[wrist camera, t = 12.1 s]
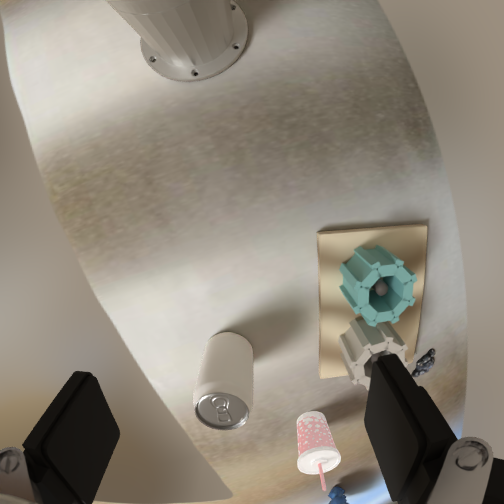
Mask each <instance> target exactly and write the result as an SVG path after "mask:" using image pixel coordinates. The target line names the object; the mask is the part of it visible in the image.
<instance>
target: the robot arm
mask: <svg viewBox="0 0 504 504" xmlns="http://www.w3.org/2000/svg"><path fill="white" fill-rule="evenodd" d="M106 1H107V2H108V3H109V4H110V5H111V6H112V8H113V9H114V10H115V11H116V12H117V13H118V14H119V15H120V16H121V17H122V18H123V19H124V20H125V21H126V22H127V23H128V24H129V25H130V26H131V27H132V28H133V29H134V30H135V31H136V32H137V33H138V34H139V35H140V36H141V40H140V44H141V51H142V54H143V57H144V59H145V60H146V62H147V63H148V65H149V66H150V67H151V68H152V69H153V70H154V71H156V72H157V73H159V74H160V75H161V76H164V77H166V78H168V79H171V80H175V81H182V82H192V81H200V80H204V79H208V78H211V77H213V76H215V75H217V74H220V73H221V72H223V71H224V70H226V69H227V68H229V67H230V66H231V65H232V64H233V63H234V62H235V61H236V60H237V59H238V57H239V56H240V55H241V53H242V51H243V49H244V47H245V45H246V42H247V37H248V25H247V20H246V17H245V14H244V12H243V11H242V9H241V8H240V6H239V5H238V4H237V3H236V2H234V1H233V0H106ZM232 9H234V10H232ZM235 47H238V49H234V48H235ZM154 60H156V61H155V62H153V61H154ZM195 73H198V75H197V76H194V74H195ZM364 423H365V428H366V431H367V433H368V436H369V439H370V441H371V444H372V447H373V449H374V452H375V455H376V458H377V460H378V463H379V466H380V469H381V471H382V474H383V477H384V480H385V483H386V485H387V488H388V491H389V494H390V497H391V499H392V501H393V502H395V501H397V502H398V504H504V460H502V459H498V458H493V451H492V448H491V447H490V445H489V444H488V443H487V442H485V441H484V440H482V439H480V438H476V437H465V438H461V439H459V440H458V439H457V438H456V436H455V434H454V433H453V431H452V430H451V428H450V426H449V425H448V423H447V422H446V420H445V419H444V417H443V416H442V414H441V412H440V411H439V409H438V408H437V406H436V405H435V403H434V402H433V400H432V399H431V397H430V396H429V394H428V393H427V391H426V390H425V389H424V388H423V387H422V386H418V385H417V384H416V382H415V381H414V379H413V378H412V376H411V375H410V373H409V372H408V370H407V369H406V367H405V366H404V364H403V363H402V361H401V360H400V358H399V357H398V355H397V354H395V353H394V354H388V355H383V356H379V357H378V359H377V361H374V362H373V364H372V371H371V379H370V386H369V393H368V399H367V406H366V412H365V418H364ZM119 437H120V430H119V428H118V425H117V423H116V421H115V419H114V417H113V415H112V413H111V410H110V408H109V406H108V404H107V402H106V399H105V397H104V395H103V392H102V390H101V388H100V385H99V383H98V380H97V378H96V377H94V376H93V375H92V374H91V373H90V372H82V371H75V372H74V373H73V374H72V376H71V377H70V378H69V380H68V381H67V382H66V384H65V385H64V386H63V388H62V389H61V390H60V392H59V393H58V394H57V396H56V397H55V399H54V400H53V402H52V403H51V404H50V406H49V407H48V408H47V410H46V411H45V413H44V414H43V415H42V417H41V418H40V420H39V421H38V423H37V424H36V425H35V427H34V428H33V430H32V431H31V433H30V434H29V435H28V437H27V439H26V440H25V441H24V443H23V444H22V446H23V447H24V448H25V450H24V452H22V451H21V450H20V449H18V448H16V447H7V448H4V449H2V450H0V504H92V503H93V500H94V498H95V495H96V492H97V490H98V488H99V485H100V483H101V480H102V478H103V475H104V473H105V471H106V468H107V466H108V463H109V461H110V459H111V456H112V454H113V451H114V449H115V447H116V444H117V442H118V440H119Z"/></svg>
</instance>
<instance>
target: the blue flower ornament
mask: <svg viewBox="0 0 504 504" xmlns="http://www.w3.org/2000/svg"><path fill="white" fill-rule="evenodd" d="M344 492H345V490H343V489H342V488H340V487H334V488H333V489H332V490H331V492H330V493H329V495H328V496H329V497H330V498H331V499H332V500H331V501H330V503H329V504H349V503H346V501H347V500H346V499H345V498H346V496H345V495H343V494H344Z"/></svg>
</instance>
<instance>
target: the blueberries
mask: <svg viewBox="0 0 504 504" xmlns="http://www.w3.org/2000/svg"><path fill="white" fill-rule="evenodd" d="M416 354H417V353H416ZM434 355H435V351H434V350H433V349H430V350H429V351H428V352H427V354H426V355H424V356H423V357H422V358H421V359H419V360H418V361H417V365H416V369H415V370H414V371H413V372H412V374H411V376H412V377H417V376H419V375H422V374H424V373H425V372H428V371H429V369H430V368H432V367H433V364H434V358H433V356H434Z"/></svg>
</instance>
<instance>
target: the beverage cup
mask: <svg viewBox="0 0 504 504" xmlns="http://www.w3.org/2000/svg"><path fill="white" fill-rule="evenodd" d="M297 434H298V450H299V458H298V459H297V463H298V469H299V470H300V471H301V472H303V473H306V474H320V478H321V483H322V489H323V491H326V485H325V480H324V475H323V473H324V472H327V471H330V470H332V469H333V468H335V467H336V466H337V465H338V464H339V463H340V460H341V455H340V453H339V451H338V450H337V449H336V446H335V444H334V441H333V438H332V435H331V432H330V429H329V427H328V424H327V421H326V418H325V416H324V415H323V414H322V413H321V412H318V411H310V412H306V413H304V414H302V415H301V416H300V417H299V418H298V420H297Z"/></svg>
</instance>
